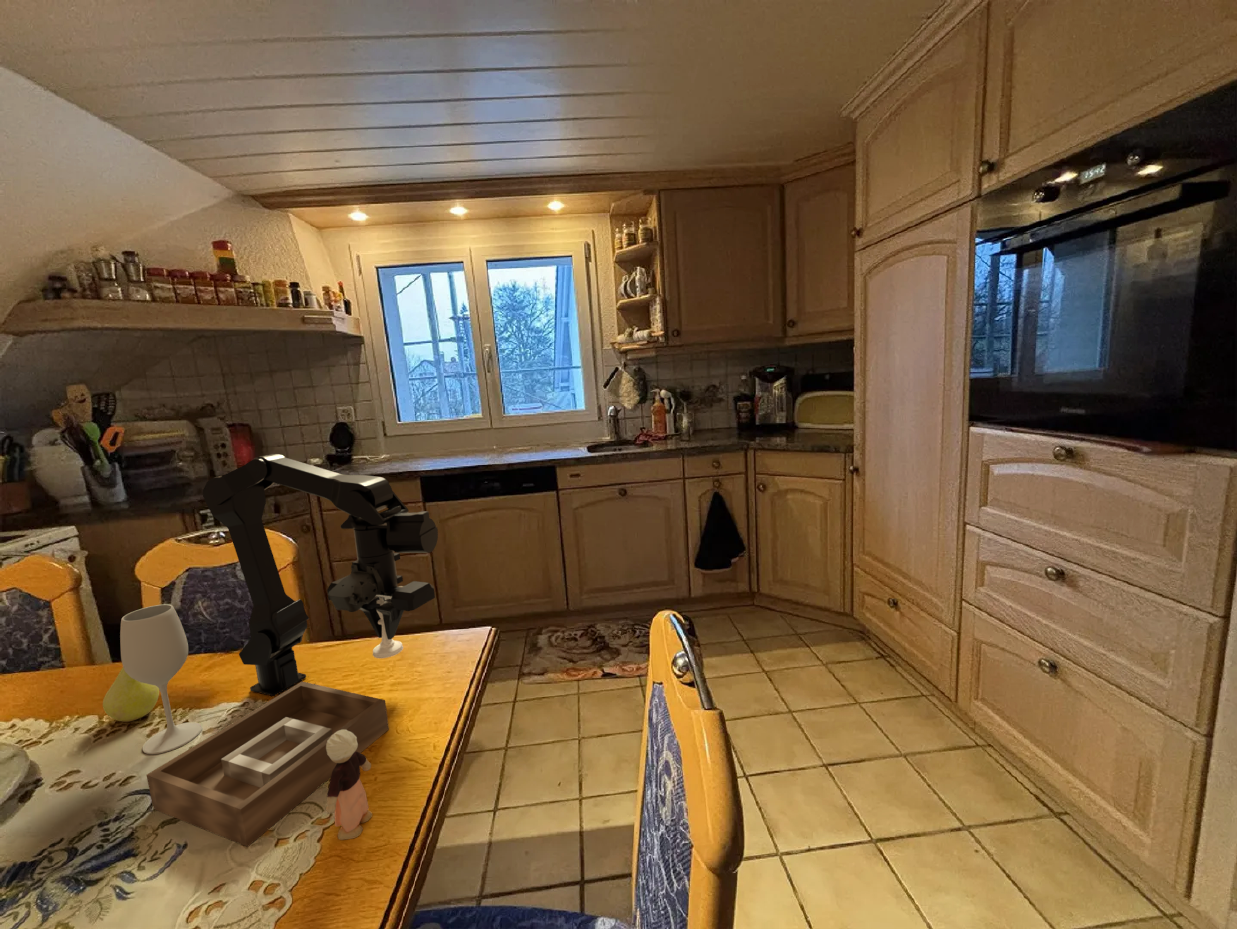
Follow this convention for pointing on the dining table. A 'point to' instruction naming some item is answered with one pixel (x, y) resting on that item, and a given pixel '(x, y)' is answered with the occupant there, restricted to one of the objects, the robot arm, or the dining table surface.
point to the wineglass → (157, 665)
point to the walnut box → (264, 761)
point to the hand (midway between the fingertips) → (386, 637)
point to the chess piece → (386, 640)
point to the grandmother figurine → (347, 785)
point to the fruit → (129, 698)
